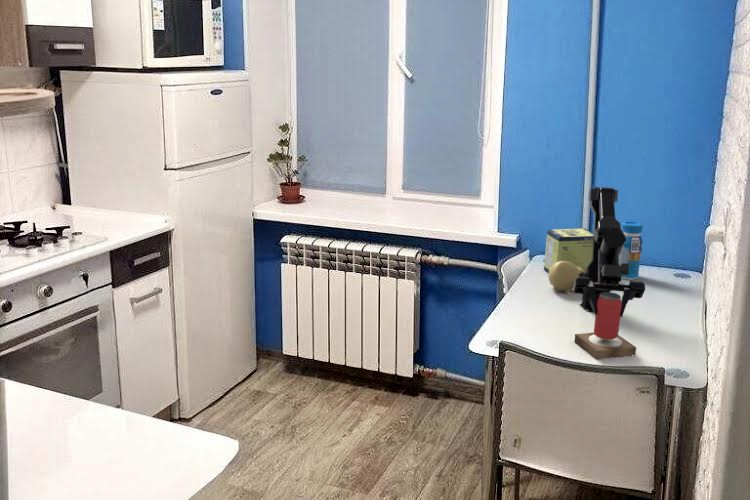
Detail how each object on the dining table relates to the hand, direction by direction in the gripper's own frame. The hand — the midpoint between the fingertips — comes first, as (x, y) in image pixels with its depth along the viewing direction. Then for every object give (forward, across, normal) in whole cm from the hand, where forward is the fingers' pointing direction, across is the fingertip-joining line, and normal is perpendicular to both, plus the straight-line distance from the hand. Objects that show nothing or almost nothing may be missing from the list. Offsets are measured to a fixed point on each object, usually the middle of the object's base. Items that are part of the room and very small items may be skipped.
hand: (608, 315), depth 210 cm
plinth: (+7, 0, +8) cm, 11 cm away
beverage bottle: (-42, +15, +58) cm, 73 cm away
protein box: (-41, -6, +58) cm, 71 cm away
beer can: (+4, 0, +6) cm, 7 cm away
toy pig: (-27, -8, +43) cm, 51 cm away
